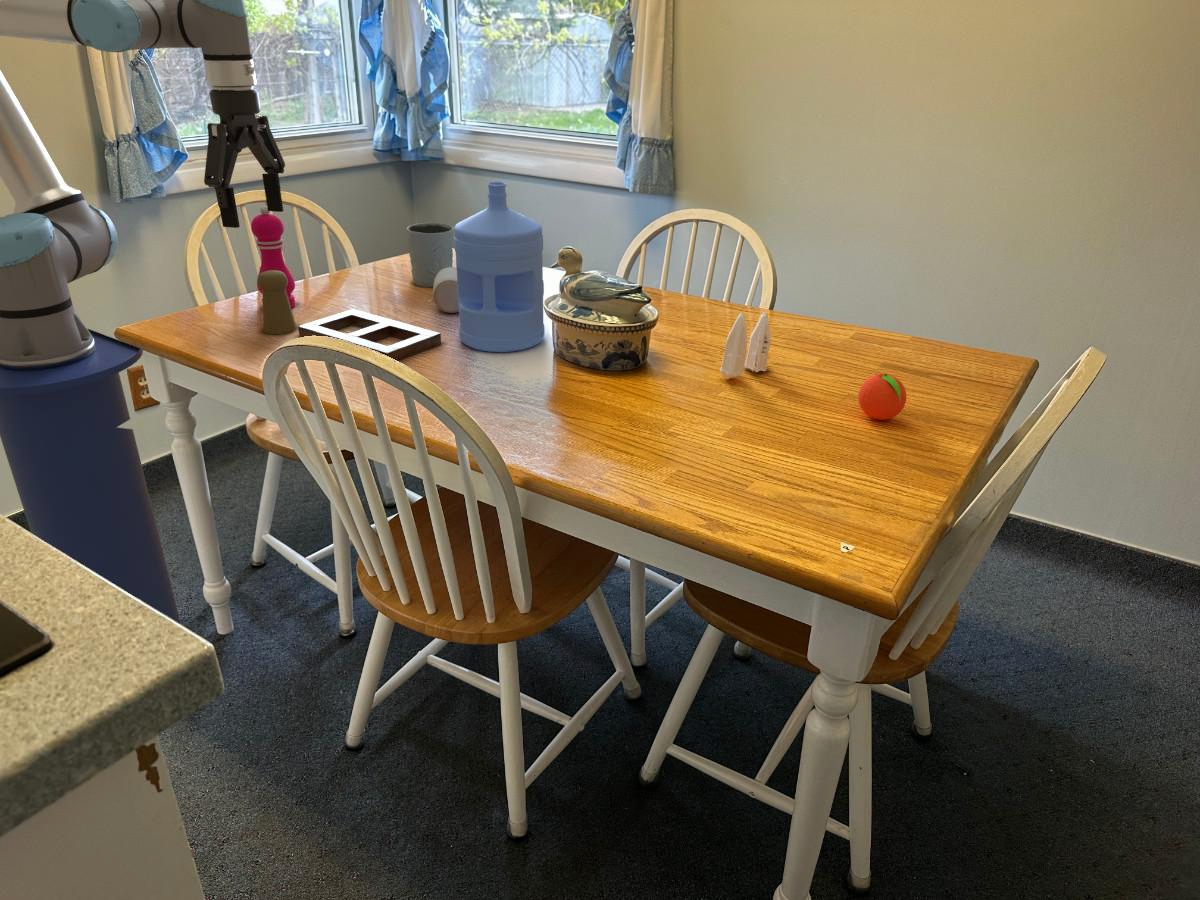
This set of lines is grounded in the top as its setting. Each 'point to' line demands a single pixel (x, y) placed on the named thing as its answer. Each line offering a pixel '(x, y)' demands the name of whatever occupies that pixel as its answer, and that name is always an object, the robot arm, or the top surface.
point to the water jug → (499, 277)
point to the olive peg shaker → (275, 303)
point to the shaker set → (738, 346)
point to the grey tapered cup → (429, 251)
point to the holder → (374, 333)
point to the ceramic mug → (446, 290)
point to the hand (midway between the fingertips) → (254, 219)
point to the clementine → (882, 396)
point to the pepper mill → (272, 247)
